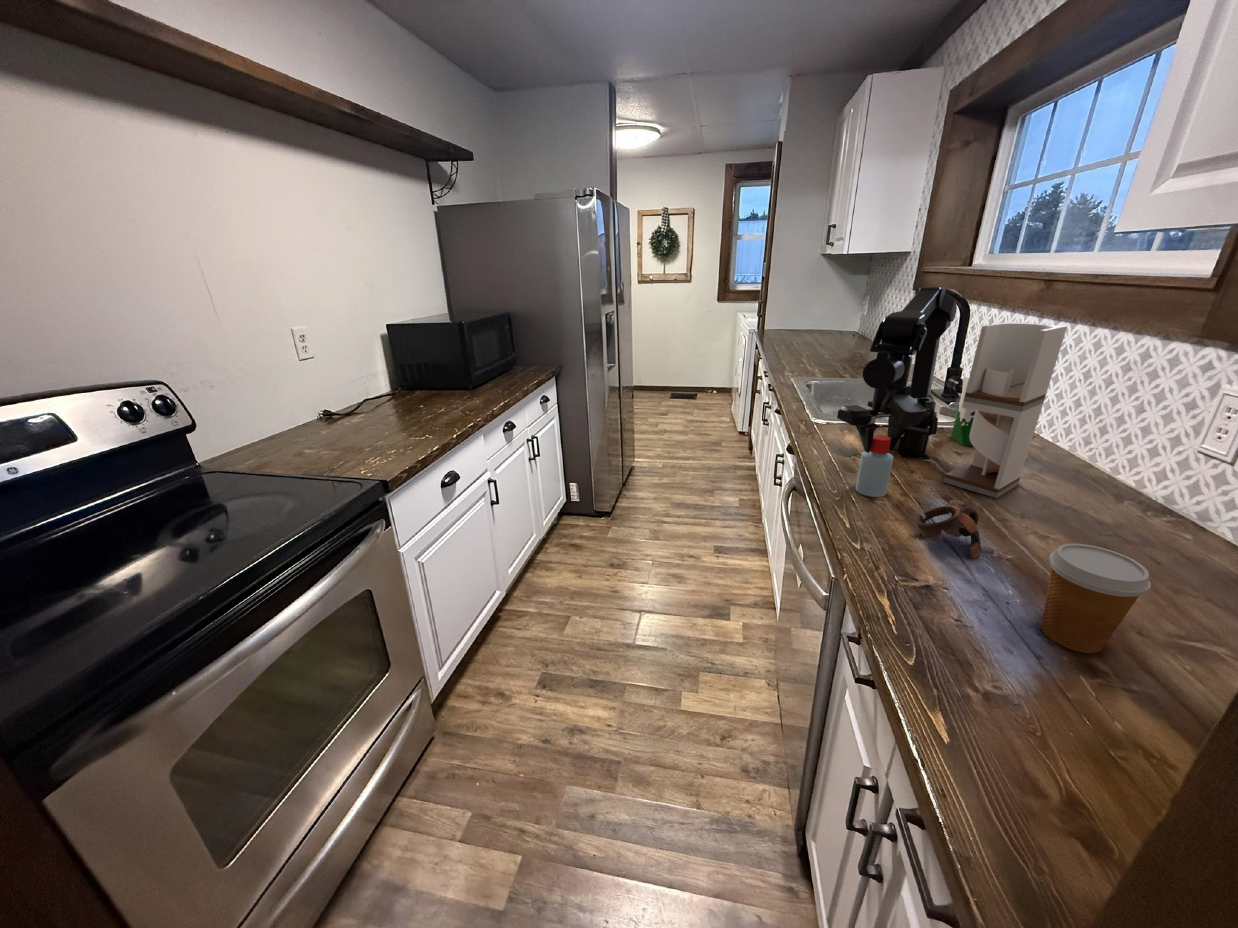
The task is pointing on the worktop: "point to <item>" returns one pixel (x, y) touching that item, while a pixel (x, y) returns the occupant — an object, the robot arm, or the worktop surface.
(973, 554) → the pottery mug
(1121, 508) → the worktop surface
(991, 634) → the worktop surface
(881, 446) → the cap
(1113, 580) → the disposable coffee cup
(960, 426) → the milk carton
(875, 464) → the bottle
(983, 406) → the white tower frame
